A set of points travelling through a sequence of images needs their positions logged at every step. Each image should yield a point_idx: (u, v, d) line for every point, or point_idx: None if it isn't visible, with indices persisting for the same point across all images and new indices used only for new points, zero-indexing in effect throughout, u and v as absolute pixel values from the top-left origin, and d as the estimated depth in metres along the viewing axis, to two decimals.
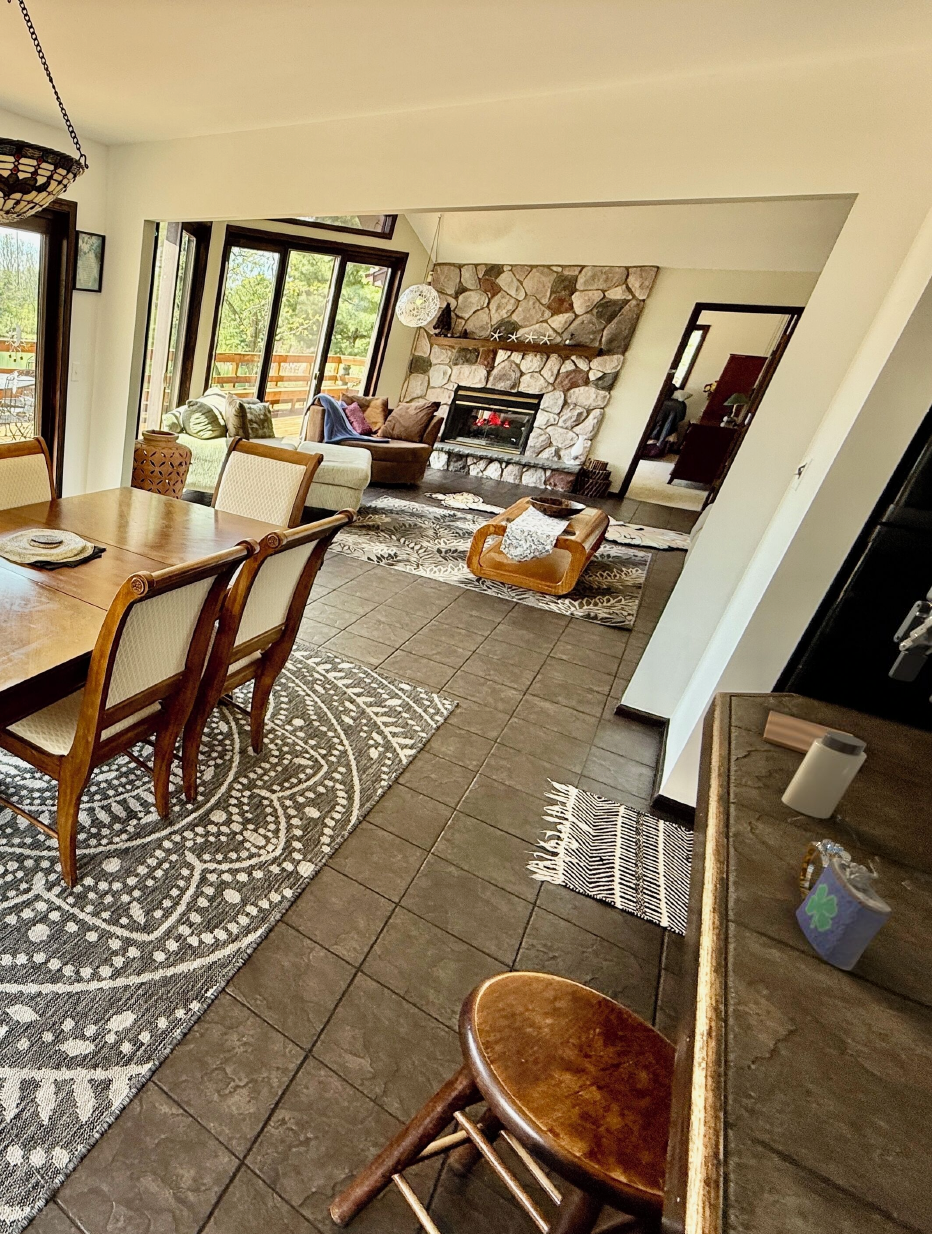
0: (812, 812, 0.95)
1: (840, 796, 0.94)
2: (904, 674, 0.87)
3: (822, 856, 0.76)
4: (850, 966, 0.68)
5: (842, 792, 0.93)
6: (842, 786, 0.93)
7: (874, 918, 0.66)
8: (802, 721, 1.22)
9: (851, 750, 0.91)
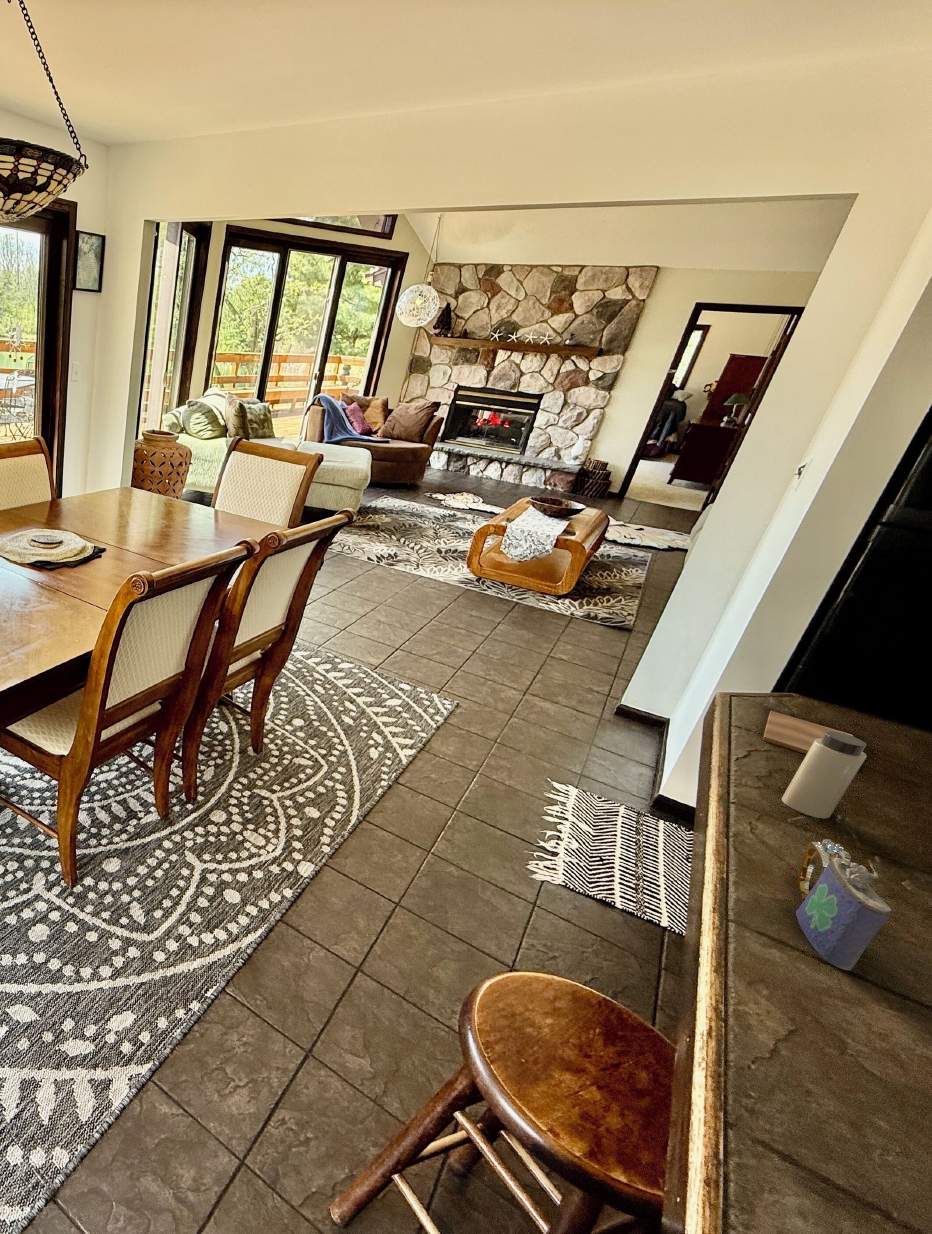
0: (812, 812, 0.95)
1: (840, 796, 0.94)
2: None
3: (822, 856, 0.76)
4: (850, 966, 0.68)
5: (842, 792, 0.93)
6: (842, 786, 0.93)
7: (874, 918, 0.66)
8: (802, 721, 1.22)
9: (851, 750, 0.91)
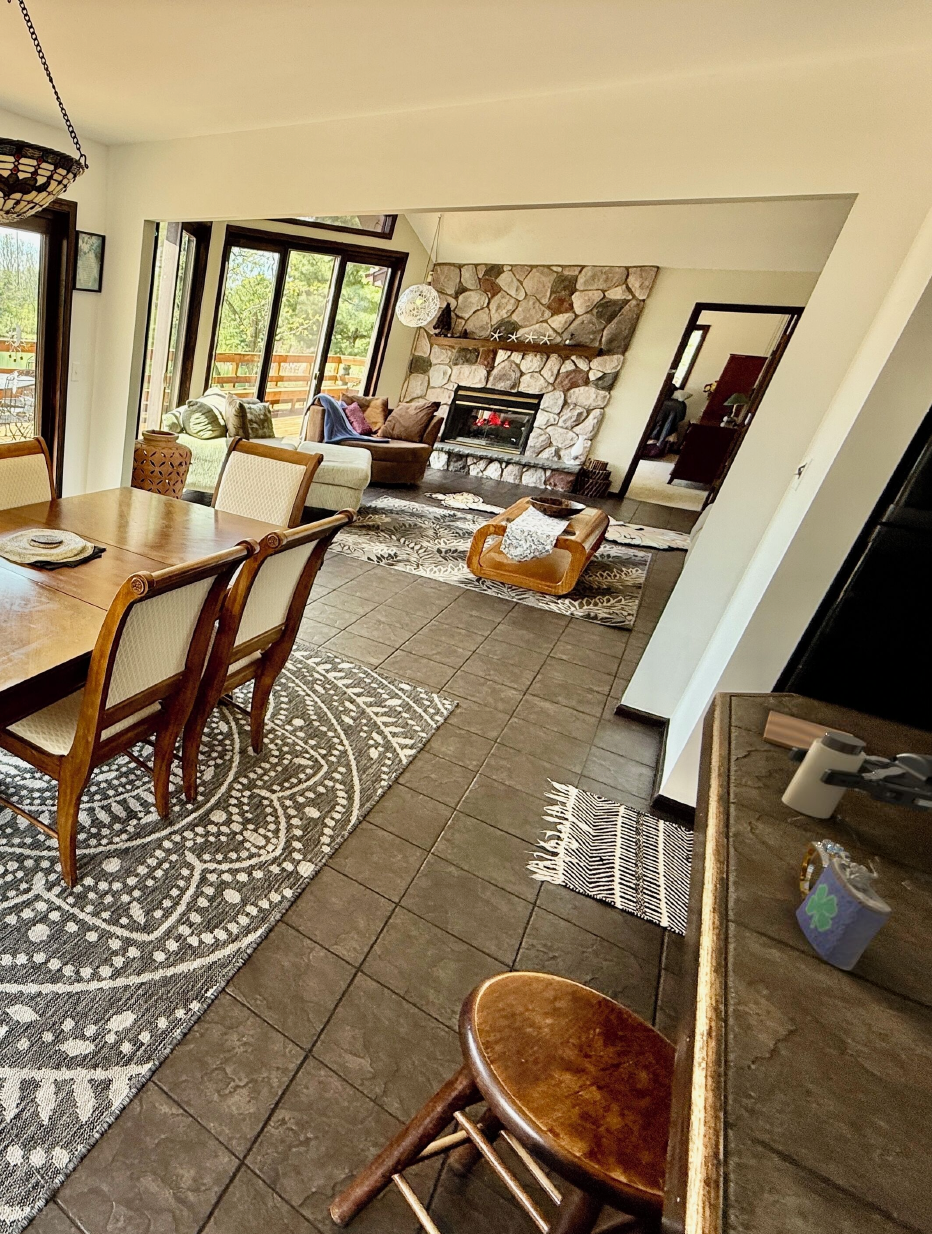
0: (812, 812, 0.95)
1: (840, 796, 0.94)
2: None
3: (822, 856, 0.76)
4: (850, 966, 0.68)
5: (842, 792, 0.93)
6: None
7: (874, 918, 0.66)
8: (802, 721, 1.22)
9: (851, 750, 0.91)
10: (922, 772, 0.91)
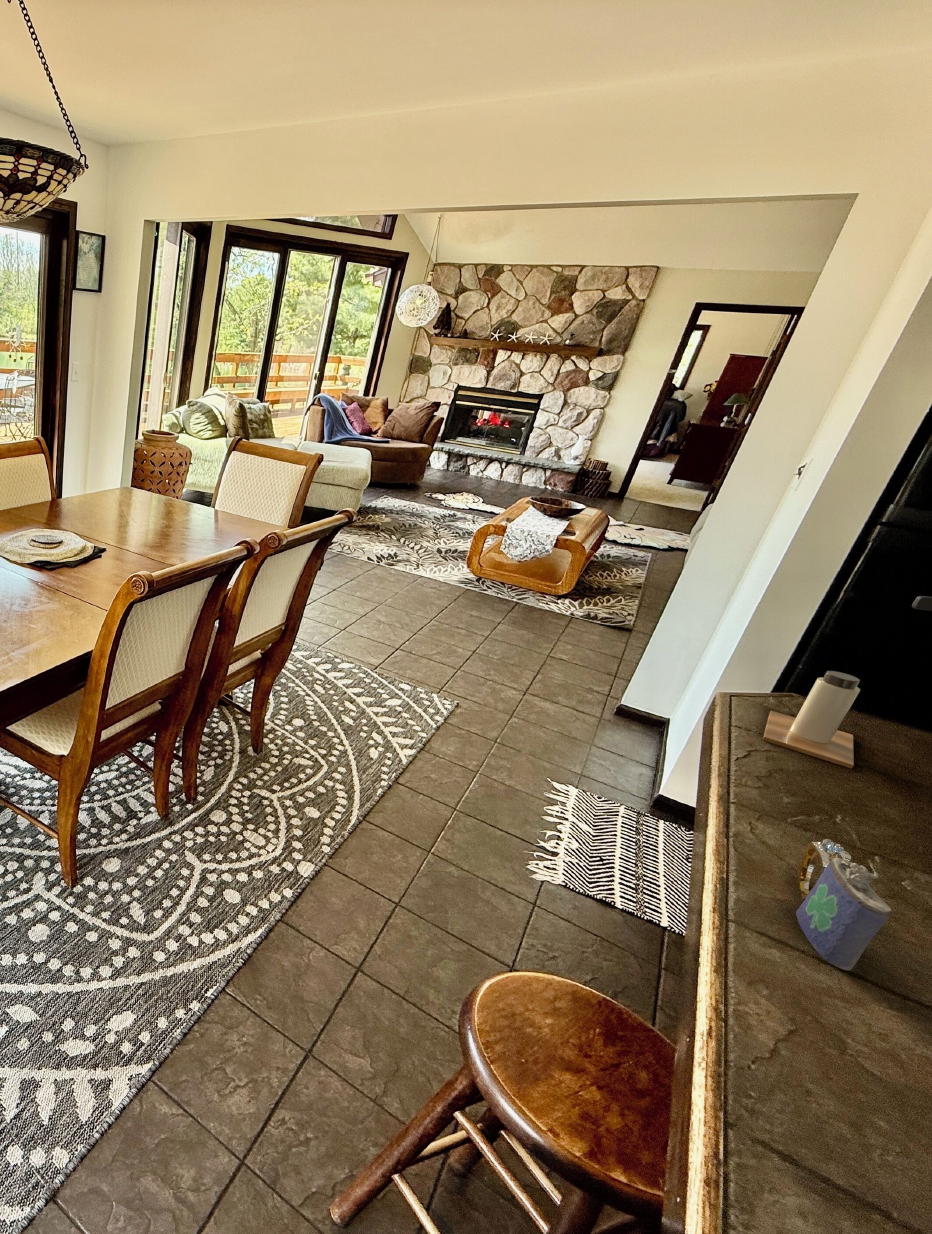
0: (815, 738, 1.15)
1: (838, 724, 1.14)
2: None
3: (822, 856, 0.76)
4: (850, 966, 0.68)
5: (840, 720, 1.13)
6: (840, 715, 1.13)
7: (874, 918, 0.66)
8: None
9: (847, 685, 1.11)
10: None
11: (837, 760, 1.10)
